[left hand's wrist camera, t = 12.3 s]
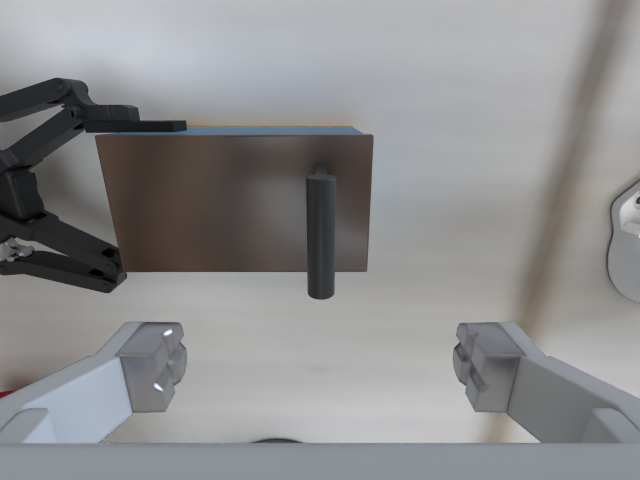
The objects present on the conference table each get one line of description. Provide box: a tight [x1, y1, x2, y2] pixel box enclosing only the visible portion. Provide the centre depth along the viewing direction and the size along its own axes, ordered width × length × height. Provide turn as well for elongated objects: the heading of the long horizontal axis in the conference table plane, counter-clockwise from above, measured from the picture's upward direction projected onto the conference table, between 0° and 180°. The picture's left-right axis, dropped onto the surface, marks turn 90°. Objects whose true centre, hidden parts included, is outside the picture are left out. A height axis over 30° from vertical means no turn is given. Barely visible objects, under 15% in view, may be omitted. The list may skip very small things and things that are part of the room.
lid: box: [95, 134, 374, 299], centre depth 22 cm, size 18×10×8 cm, turn 90°
